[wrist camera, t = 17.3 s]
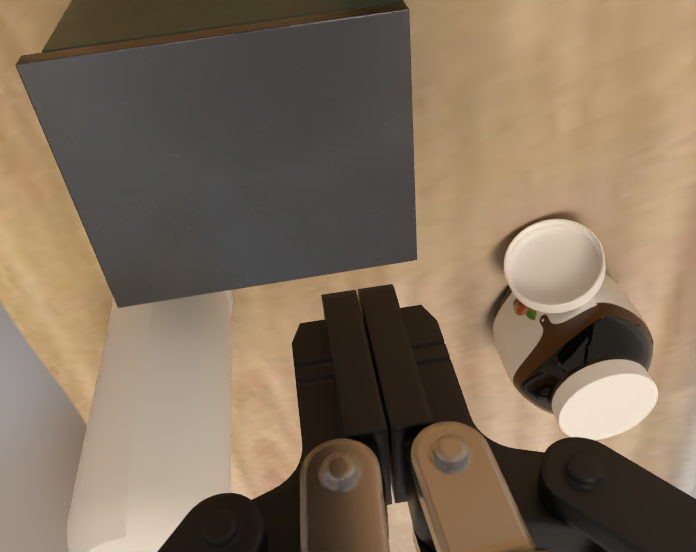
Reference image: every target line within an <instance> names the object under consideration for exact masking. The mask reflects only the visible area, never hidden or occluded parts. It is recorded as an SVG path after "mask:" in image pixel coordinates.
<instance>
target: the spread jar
mask: <svg viewBox="0 0 696 552" xmlns="http://www.w3.org/2000/svg"><path fill="white" fill-rule="evenodd" d="M605 271H606V265H605V256H604V251H603V248H602V245H601V243H600V241H599V240H598V238H597V236H596V235H595V234H594V233H593V232H592V231H591V230H590V229H588V228H587V227H585V226H584V225H582V224H579V223H577V222H575V221H571V220H566V219H549V220H544V221H540V222H537V223H535V224H532V225H530V226H528V227H527V228H525V229H524V230H522V231H521V232H520V233H519V234H518V235H517V236H516V237H515V238H514V239H513V240H512V242H511V243H510V245H509V246H508V249H507V251H506V253H505V258H504V273H505V277H506V280H507V282H508V284H509V287H510V288H509V289H508V291H507V292H506V294H505V295H504V297H503V299H502V301H501V303H500V305H499V307H498V310H497V312H496V315H495V319H494V324H493V336H494V341H495V345H496V348H497V350H498V353H499V356H500V358H501V360H502V363H503V365H504V367H505V370H506V372H507V374H508V376H509V378H510V380H511V382H512V383H513V385H514V386H515V388H516V389H517V390H518V391H519V392H520V393H521V395H522V396H523V397H524V398H526V399H527V400H528V401H529V402H531V403H532V404H534V405H535V406H537V407H538V408H540V409H542V410H544V411H546V412H548V413H551V414H553V415H554V416H555V418H556V420H557V422H558V424H559V426H560V428H561V430H562V431H563V432H564V433H565V434H567V435H568V436H570V437H582V438H587V439H591V440H598V439H604V438H608V437H612V436H615V435H617V434H620V433H622V432H624V431H626V430H628V429H630V428H632V427H633V426H635V425H637V424H638V423H639V422H640V421H642V420H643V419H644V418H645V417H646V416H647V415H648V414H649V413H650V412H651V410H652V409H653V407H654V406H655V403H656V401H657V396H658V391H657V387H656V385H655V383H654V382H653V380H652V379H651V377H650V376H649V374H648V373H647V372H648V370H649V367H650V364H651V360H652V356H653V339H652V336H651V333H650V331H649V329H648V327H647V325H646V323H645V321H644V320H643V318H642V316H641V315H640V313H639V312H638V311H637V309H636V308H635V306H634V305H633V303H632V302H631V301H630V299H629V298H628V296H627V295H626V294H625V293H624V291H623V290H622V289H621V288H620V287H619V286H618V284H617V283H616V282H615V281H614V280H613V279H612V278H610V277H609V276H608V275H607V274H605Z"/></svg>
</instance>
